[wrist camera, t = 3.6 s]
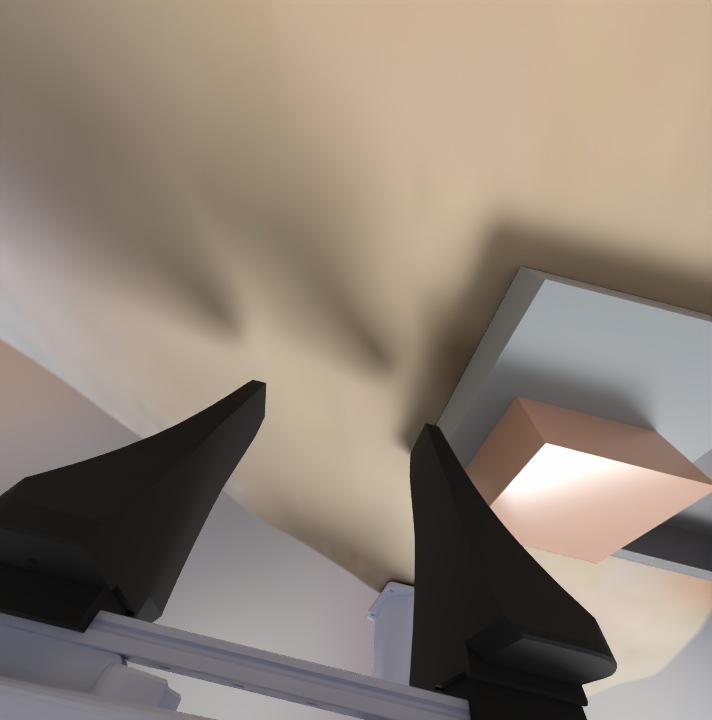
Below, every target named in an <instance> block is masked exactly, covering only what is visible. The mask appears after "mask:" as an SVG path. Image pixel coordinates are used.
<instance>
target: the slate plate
mask: <svg viewBox="0 0 712 720" xmlns="http://www.w3.org/2000/svg"><path fill="white" fill-rule="evenodd" d="M516 396H519V397H523V398H527V399H531V400H535V401H538V402H542V403H546V404H550V405H554V406H558V407H562V408H566V409H570V410H574V411H578V412H582V413H586V414H589V415H593V416H597V417H601V418H605V419H609V420H613V421H617V422H621V423H625V424H629V425H633V426H637V427H641V428H644V429H648V430H652V431H656V432H658V433H659V434H660V435H661V436H662V437H664V438H665V439H666V440H667V441H668V442H669V443H670V444H671V445H673V446H674V447H675V448H676V449H677V450H678V451H679V452H681V453H682V454H683V455H684V456H685V457H686V458H687V459H688V460H690V461H691V462H692V463H693V462H694V461H696V460H697V459H698V458H700V457H701V456H703V455H704V454H705V453H707V452H708V451H710V450H711V449H712V315H708V314H704V313H700V312H697V311H693V310H689V309H685V308H681V307H677V306H673V305H669V304H666V303H662V302H658V301H654V300H650V299H646V298H642V297H639V296H635V295H631V294H627V293H623V292H619V291H615V290H611V289H608V288H604V287H600V286H596V285H592V284H588V283H584V282H580V281H577V280H573V279H569V278H565V277H561V276H557V275H553V274H550V273H546V272H542V271H538V270H534V269H530V268H526V267H522V266H520V268H519V270H518V272H517V274H516V276H515V278H514V280H513V281H512V283H511V285H510V287H509V289H508V291H507V293H506V295H505V296H504V298H503V300H502V302H501V304H500V306H499V308H498V310H497V312H496V313H495V315H494V317H493V319H492V321H491V323H490V325H489V327H488V328H487V330H486V332H485V334H484V336H483V338H482V340H481V342H480V343H479V345H478V347H477V349H476V351H475V353H474V355H473V357H472V358H471V360H470V362H469V364H468V366H467V368H466V370H465V372H464V374H463V375H462V377H461V379H460V381H459V383H458V385H457V387H456V389H455V390H454V392H453V394H452V396H451V398H450V400H449V402H448V404H447V405H446V407H445V409H444V411H443V413H442V415H441V417H440V419H439V421H438V422H437V424H436V426H438V427H439V428H440V429H441V431H442V433H443V434H444V436H445V438H446V440H447V442H448V443H449V445H450V447H451V449H452V450H453V452H454V454H455V455H456V457H457V459H458V461H459V462H460V464H461V465H462V467H463V469H464V470H465V469H466V467H467V466H468V465H469V463H470V462H471V460H472V459H473V457H474V456H475V455H476V453H477V452H478V450H479V449H480V447H481V446H482V445H483V443H484V442H485V440H486V439H487V437H488V436H489V435H490V433H491V432H492V430H493V429H494V427H495V426H496V425H497V423H498V422H499V420H500V419H501V418H502V416H503V415H504V413H505V412H506V410H507V409H508V408H509V406H510V405H511V403H512V402H513V400H514V399H515V398H516Z"/></svg>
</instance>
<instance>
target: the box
mask: <svg viewBox="0 0 712 720" xmlns="http://www.w3.org/2000/svg"><path fill="white" fill-rule="evenodd" d="M693 464H694V465H695V466H696V467H697V468H699V469H700V470H701V471H702V472H703V473H704V474H705V475H707V476H708V477H709V478H710V479H711V480H712V449H711V450H710V451H708V452H707V453H705V454H704V455H703V456H701V457H700V458H698V459H697V460H696V461H694V462H693ZM610 556H613V557H617V558H621V559H625V560H629V561H633V562H637V563H641V564H645V565H649V566H653V567H657V568H661V569H665V570H669V571H673V572H677V573H681V574H685V575H689V576H692V577H696V578H700V579H704V580H708V581H712V492H711V493H709V494H708V495H706V496H705V497H703V498H701V499H700V500H698V501H697V502H695V503H693V504H692V505H690V506H688V507H687V508H685V509H684V510H682V511H680V512H679V513H677V514H676V515H674V516H672V517H671V518H669V519H668V520H666V521H664V522H663V523H661V524H659V525H658V526H656V527H655V528H653V529H651V530H650V531H648V532H647V533H645V534H643V535H642V536H640V537H639V538H637V539H635V540H634V541H632V542H630V543H629V544H627V545H626V546H624V547H622V548H621V549H619V550H618V551H616V552H614V553H613V554H611V555H610Z"/></svg>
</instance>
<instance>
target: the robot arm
mask: <svg viewBox="0 0 712 720" xmlns="http://www.w3.org/2000/svg"><path fill="white" fill-rule="evenodd" d="M265 398H266V383H264V382H260V381H256V380H251V381H250V382H248V383H247V384H245V385H243V386H242V387H240V388H239V389H237V390H236V391H234V392H233V393H231V394H229V395H228V396H226V397H225V398H223V399H221V400H220V401H218V402H217V403H215V404H213V405H212V406H210V407H208V408H207V409H205V410H203V411H201V412H199V413H198V414H196V415H194V416H192V417H190V418H189V419H187V420H185V421H183V422H181V423H179V424H177V425H175V426H173V427H171V428H169V429H166V430H164V431H162V432H160V433H158V434H155V435H153V436H150V437H148V438H145V439H143V440H140V441H138V442H135V443H133V444H131V445H128V446H126V447H123V448H120V449H117V450H115V451H112V452H109V453H106V454H103V455H100V456H97V457H94V458H91V459H88V460H85V461H82V462H78V463H75V464H72V465H68V466H65V467H61V468H58V469H54V470H51V471H48V472H44V473H40V474H37V475H33V476H29V477H25V478H24V479H22V480H21V481H20V482H18V483H17V484H16V485H14V486H13V487H12V488H10V489H9V490H8V491H6V492H5V493H4V494H2V495H1V496H0V720H216V719H211V718H206V717H202V716H197V715H192V714H187V713H182V712H177V711H176V710H177V707H178V705H179V703H180V700H181V696H180V694H179V693H177V692H175V691H173V690H172V689H170V688H169V687H168V682H167V680H166V679H163V678H160V677H157V676H155V675H152V674H149V673H146V672H143V671H140V670H137V669H134V668H132V667H128V665H127V662H131V663H136V664H140V665H144V666H148V667H152V668H156V669H160V670H164V671H168V672H172V673H177V674H181V675H185V676H189V677H193V678H197V679H201V680H205V681H209V682H213V683H217V684H221V685H225V686H230V687H234V688H238V689H242V690H247V691H250V692H255V693H259V694H262V695H266V696H270V697H275V698H279V699H283V700H287V701H291V702H295V703H299V704H303V705H307V706H311V707H315V708H320V709H324V710H328V711H332V712H336V713H340V714H344V715H348V716H352V717H357V718H360V719H364V720H587V719H586V716H585V713H584V710H583V707H582V706H588V701H587V698H586V695H585V693H584V690H583V688H582V685H583V684H586V683H590V682H593V681H597V680H600V679H604V678H606V677H609V676H611V675H612V674H614V673H615V672H616V669H617V663H616V661H615V659H614V656H613V654H612V652H611V650H610V648H609V646H608V644H607V642H606V640H605V638H604V636H603V634H602V631H601V629H600V627H599V625H598V623H597V621H596V619H595V618H594V617H593V616H592V615H591V614H590V613H589V612H588V611H587V610H585V609H584V608H583V607H582V606H581V605H580V604H579V603H578V602H577V601H576V600H575V599H574V598H573V597H572V596H571V595H570V594H568V593H567V592H566V591H565V590H564V589H563V588H562V587H561V586H560V585H559V584H558V583H557V582H556V581H555V580H554V579H553V578H552V577H551V576H550V575H549V574H548V573H547V572H546V571H545V570H544V569H543V568H542V567H541V566H540V565H539V564H538V563H537V562H536V561H535V560H534V558H533V557H532V556H531V555H530V554H529V553H528V552H527V551H526V550H525V549H524V548H523V546H522V545H521V544H520V543H519V542H518V541H517V540H516V538H515V537H514V536H513V535H512V534H511V533H510V532H509V530H508V529H507V528H506V527H505V526H504V524H503V523H502V522H501V521H500V519H499V518H498V517H497V516H496V514H495V513H494V512H493V510H492V509H491V508H490V507H489V505H488V504H487V503H486V501H485V500H484V499H483V497H482V496H481V494H480V493H479V491H478V490H477V488H476V487H475V486H474V484H473V483H472V481H471V480H470V478H469V477H468V475H467V473H466V472H465V470H464V469H463V467H462V465H461V464H460V462H459V461H458V459H457V457H456V455H455V454H454V452H453V450H452V449H451V447H450V445H449V443H448V442H447V440H446V438H445V436H444V434H443V433H442V431H441V429H440V428H439V427H438V426H434V425H430V424H426V423H425V425H424V427H423V429H422V431H421V433H420V435H419V438H418V440H417V442H416V444H415V446H414V448H413V450H412V452H411V456H410V485H411V497H412V508H413V520H414V533H415V579H414V587H412V586H408V585H404V584H400V583H396V582H389V583H388V584H387V585H386V587H385V588H384V590H383V591H382V592H381V594H380V595H379V597H378V598H377V600H376V601H375V602H374V604H373V605H372V606H371V608H370V609H369V611H368V612H367V618H368V619H371V620H375V632H374V653H373V674H372V677H370V676H366V675H362V674H358V673H354V672H350V671H346V670H342V669H338V668H334V667H329V666H325V665H321V664H317V663H313V662H309V661H305V660H301V659H296V658H293V657H289V656H285V655H281V654H276V653H272V652H268V651H264V650H260V649H256V648H252V647H248V646H244V645H240V644H236V643H232V642H228V641H224V640H220V639H215V638H212V637H207V636H203V635H199V634H195V633H191V632H187V631H183V630H179V629H175V628H171V627H167V626H163V625H159V624H155V623H152V622H154V621H155V620H156V619H158V618H159V617H161V615H162V613H163V611H164V608H165V606H166V604H167V601H168V599H169V597H170V595H171V592H172V590H173V588H174V586H175V584H176V581H177V579H178V577H179V575H180V573H181V570H182V568H183V566H184V564H185V562H186V560H187V558H188V556H189V553H190V551H191V549H192V547H193V545H194V543H195V541H196V539H197V537H198V535H199V533H200V531H201V529H202V527H203V525H204V523H205V521H206V519H207V517H208V515H209V513H210V511H211V509H212V507H213V505H214V503H215V501H216V499H217V497H218V495H219V494H220V492H221V490H222V488H223V487H224V485H225V483H226V482H227V480H228V478H229V477H230V475H231V474H232V472H233V471H234V469H235V468H236V466H237V464H238V463H239V461H240V460H241V458H242V457H243V455H244V454H245V452H246V450H247V449H248V447H249V446H250V444H251V443H252V441H253V439H254V438H255V436H256V434H257V432H258V430H259V428H260V426H261V423H262V421H263V419H264V417H265ZM126 661H127V662H126Z"/></svg>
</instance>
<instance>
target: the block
mask: <svg viewBox="0 0 712 720" xmlns="http://www.w3.org/2000/svg"><path fill="white" fill-rule="evenodd" d="M465 472H466V473H467V475H468V477H469V478H470V480H471V481H472V483H473V484H474V486H475V487H476V488H477V490H478V491H479V493H480V494H481V496H482V497H483V499H484V500H485V501H486V503H487V504H488V505H489V507H490V508H491V509H492V510H493V512H494V513H495V514H496V516H497V517H498V518H499V519H500V521H501V522H502V523H503V524H504V526H505V527H506V528H507V529H508V530H509V532H510V533H511V534H512V535H513V536H514V537H515V538H516V540H517V541H518V542H519V543H520V544H521V545H523V546H527V547H531V548H535V549H539V550H543V551H547V552H551V553H555V554H559V555H563V556H567V557H571V558H575V559H579V560H583V561H587V562H591V563H595V564H597V563H598V562H600V561H601V560H603V559H605V558H606V557H608V556H610V555H611V554H613V553H614V552H616V551H618V550H619V549H621V548H622V547H624V546H626V545H627V544H629V543H630V542H632V541H634V540H635V539H637V538H639V537H640V536H642V535H643V534H645V533H647V532H648V531H650V530H651V529H653V528H655V527H656V526H658V525H659V524H661V523H663V522H664V521H666V520H668V519H669V518H671V517H672V516H674V515H676V514H677V513H679V512H680V511H682V510H684V509H685V508H687V507H688V506H690V505H692V504H693V503H695V502H697V501H698V500H700V499H701V498H703V497H705V496H706V495H708V494H709V493H711V492H712V480H711V479H710V478H709V477H708V476H707V475H705V474H704V473H703V472H702V471H701V470H700V469H699V468H697V467H696V466H695V465H694V464H693V463H692V462H691V461H690V460H688V459H687V458H686V457H685V456H684V455H683V454H682V453H681V452H679V451H678V450H677V449H676V448H675V447H674V446H673V445H671V444H670V443H669V442H668V441H667V440H666V439H665V438H664V437H662V436H661V435H660V434H659V433H658V432H656V431H652V430H648V429H644V428H641V427H637V426H633V425H629V424H625V423H621V422H617V421H613V420H609V419H605V418H601V417H597V416H593V415H589V414H586V413H582V412H578V411H574V410H570V409H566V408H562V407H558V406H554V405H550V404H546V403H542V402H538V401H535V400H531V399H527V398H523V397H519V396H516V398H515V399H514V400H513V402H512V403H511V405H510V406H509V408H508V409H507V410H506V412H505V413H504V415H503V416H502V418H501V419H500V420H499V422H498V423H497V425H496V426H495V427H494V429H493V430H492V432H491V433H490V435H489V436H488V437H487V439H486V440H485V442H484V443H483V445H482V446H481V447H480V449H479V450H478V452H477V453H476V455H475V456H474V457H473V459H472V460H471V462H470V463H469V465H468V466H467V467H466V469H465Z"/></svg>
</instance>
